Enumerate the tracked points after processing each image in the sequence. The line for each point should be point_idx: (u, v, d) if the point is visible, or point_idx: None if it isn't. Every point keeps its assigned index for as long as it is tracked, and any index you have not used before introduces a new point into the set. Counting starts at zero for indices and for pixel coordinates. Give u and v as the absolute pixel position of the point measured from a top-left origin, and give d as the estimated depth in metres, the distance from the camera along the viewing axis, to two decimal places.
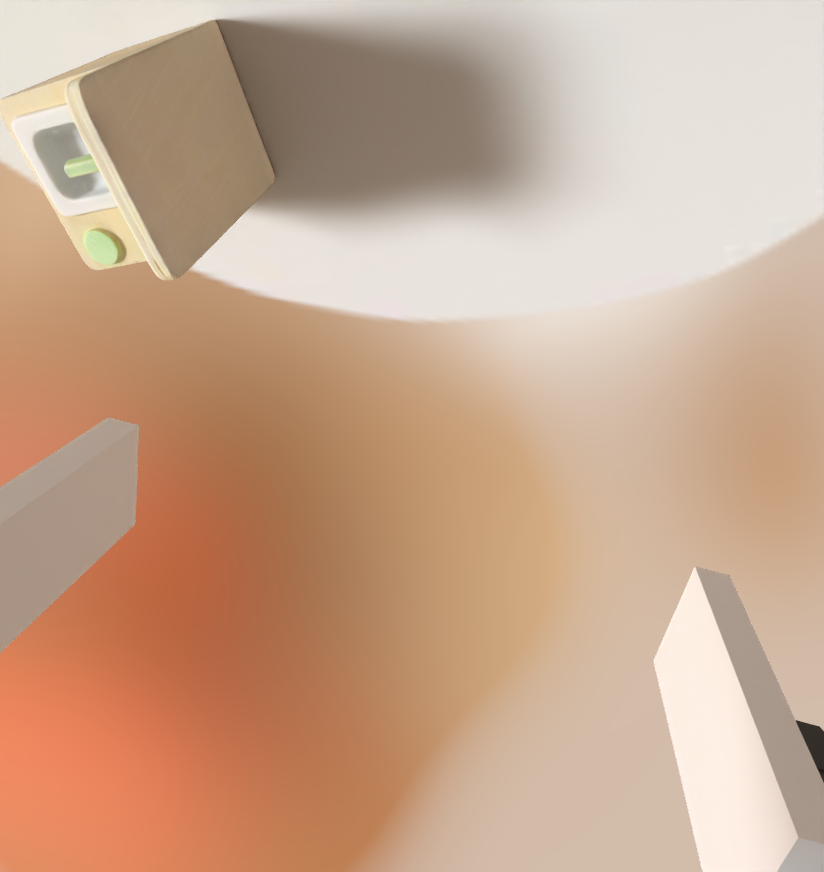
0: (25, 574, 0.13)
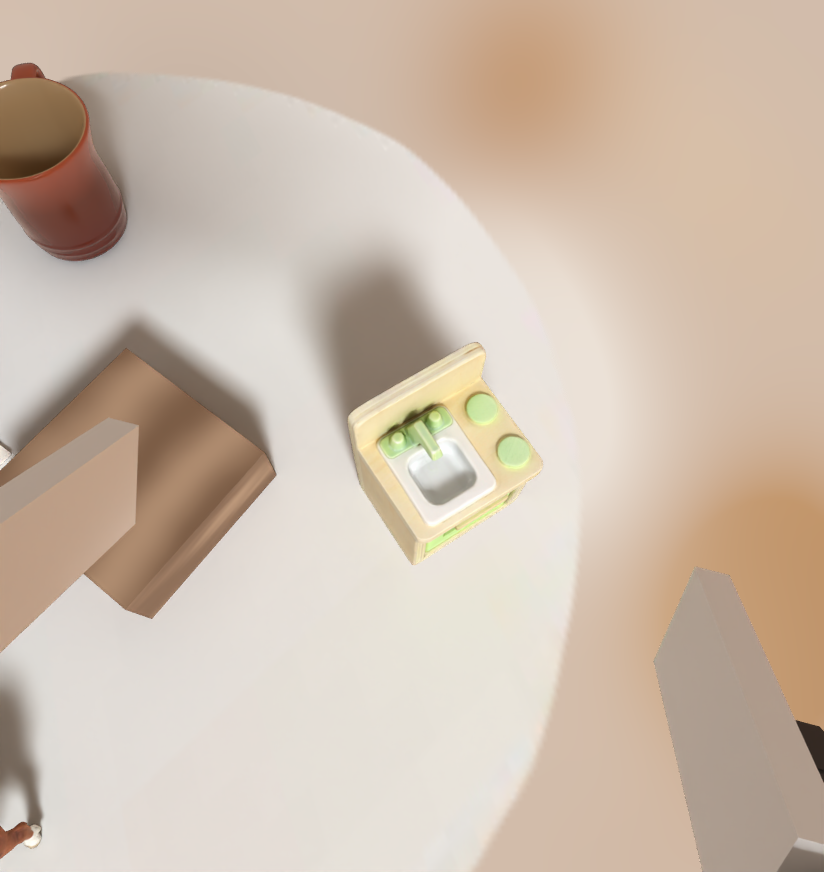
0: (25, 574, 0.13)
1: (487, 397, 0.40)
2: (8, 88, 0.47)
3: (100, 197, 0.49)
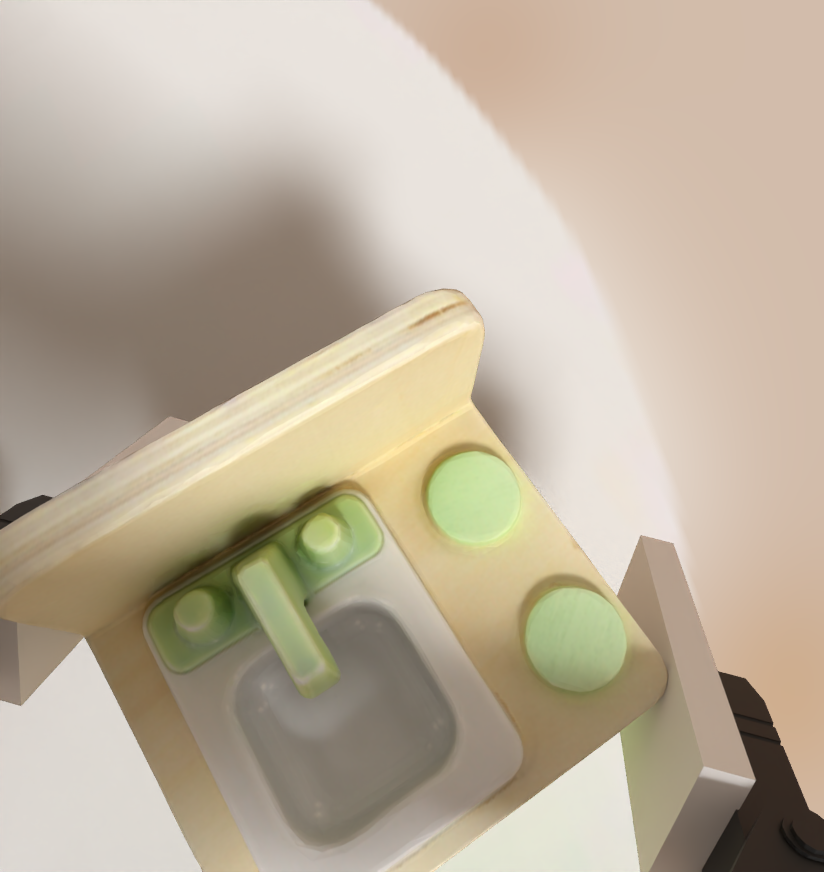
0: None
1: (490, 462, 0.13)
2: None
3: None
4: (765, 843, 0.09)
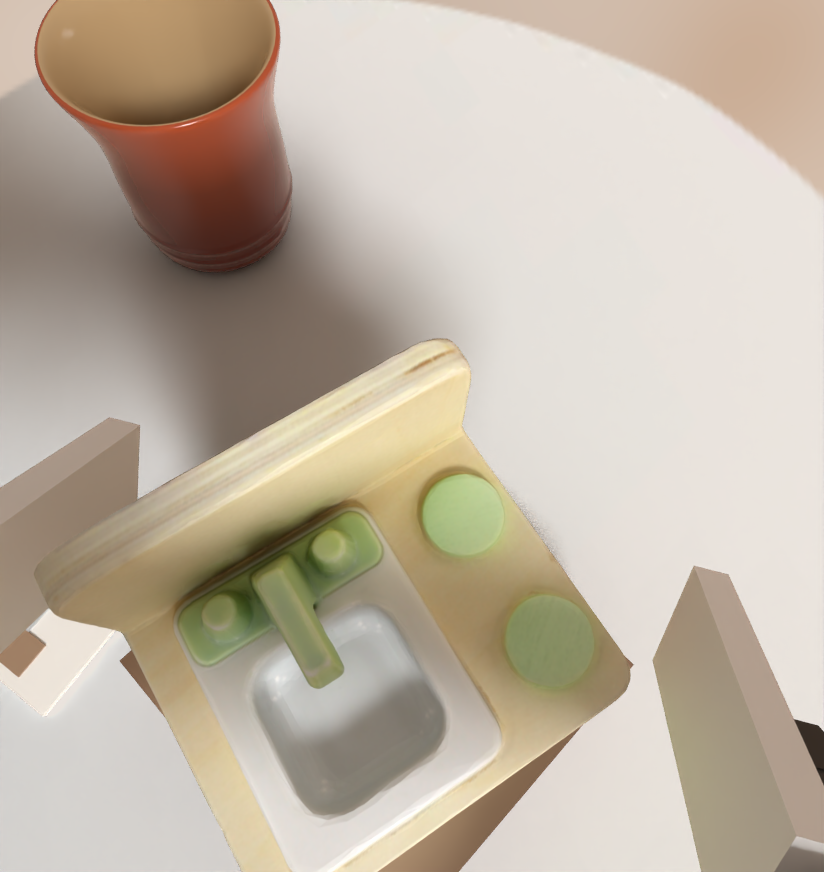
0: (26, 574, 0.13)
1: (477, 484, 0.15)
2: None
3: (273, 166, 0.30)
4: None
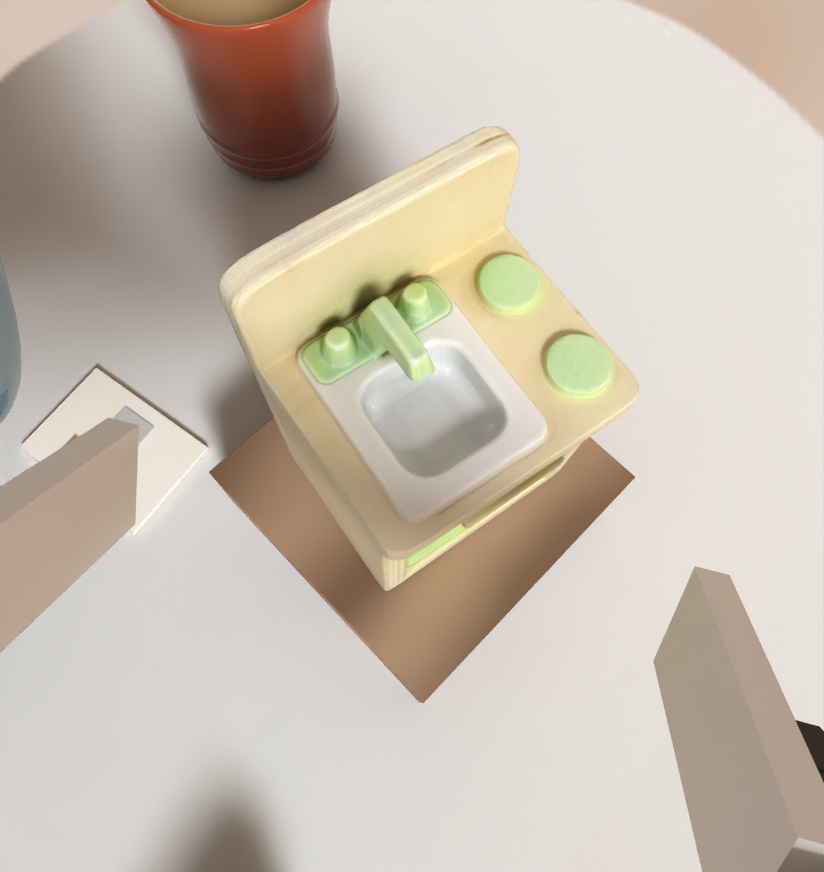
0: (25, 574, 0.13)
1: (519, 260, 0.20)
2: None
3: (326, 77, 0.34)
4: None
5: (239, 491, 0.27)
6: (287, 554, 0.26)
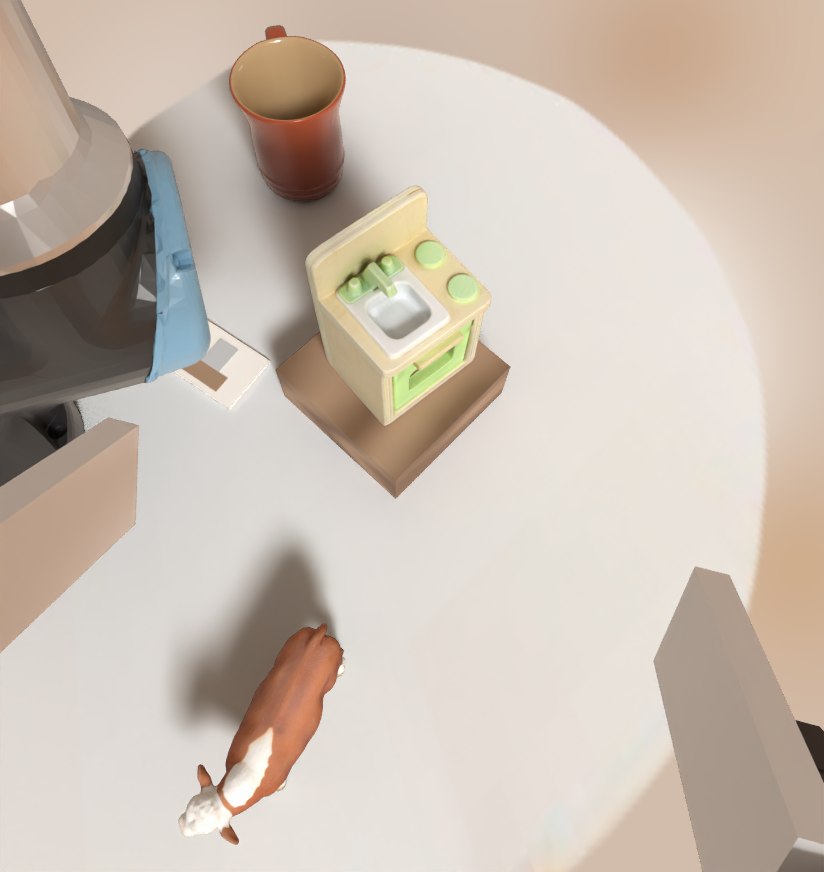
0: (25, 574, 0.13)
1: (434, 243, 0.43)
2: (270, 46, 0.54)
3: (337, 142, 0.57)
4: None
5: (293, 379, 0.50)
6: (321, 410, 0.49)
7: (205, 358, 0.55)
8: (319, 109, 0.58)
